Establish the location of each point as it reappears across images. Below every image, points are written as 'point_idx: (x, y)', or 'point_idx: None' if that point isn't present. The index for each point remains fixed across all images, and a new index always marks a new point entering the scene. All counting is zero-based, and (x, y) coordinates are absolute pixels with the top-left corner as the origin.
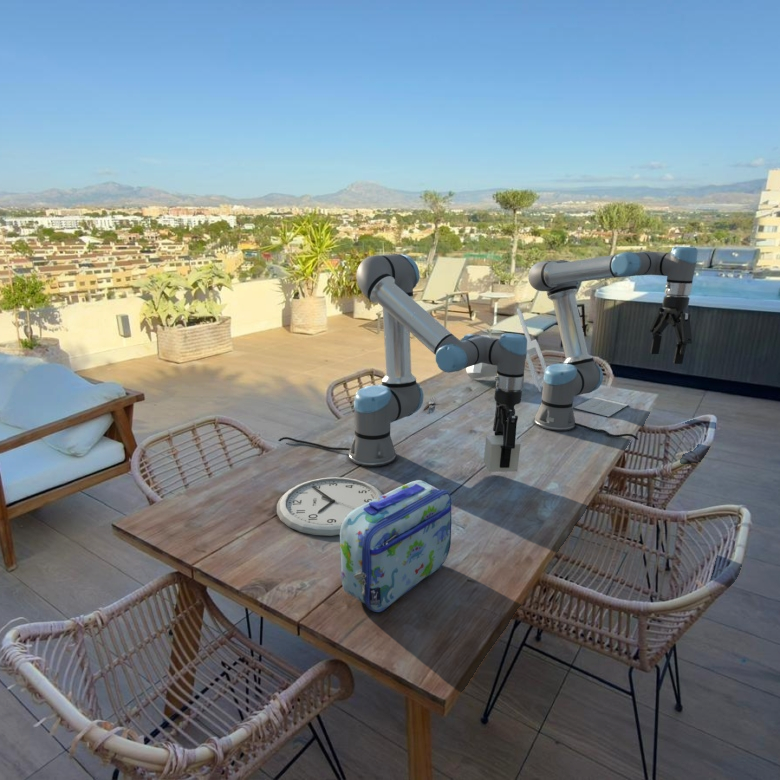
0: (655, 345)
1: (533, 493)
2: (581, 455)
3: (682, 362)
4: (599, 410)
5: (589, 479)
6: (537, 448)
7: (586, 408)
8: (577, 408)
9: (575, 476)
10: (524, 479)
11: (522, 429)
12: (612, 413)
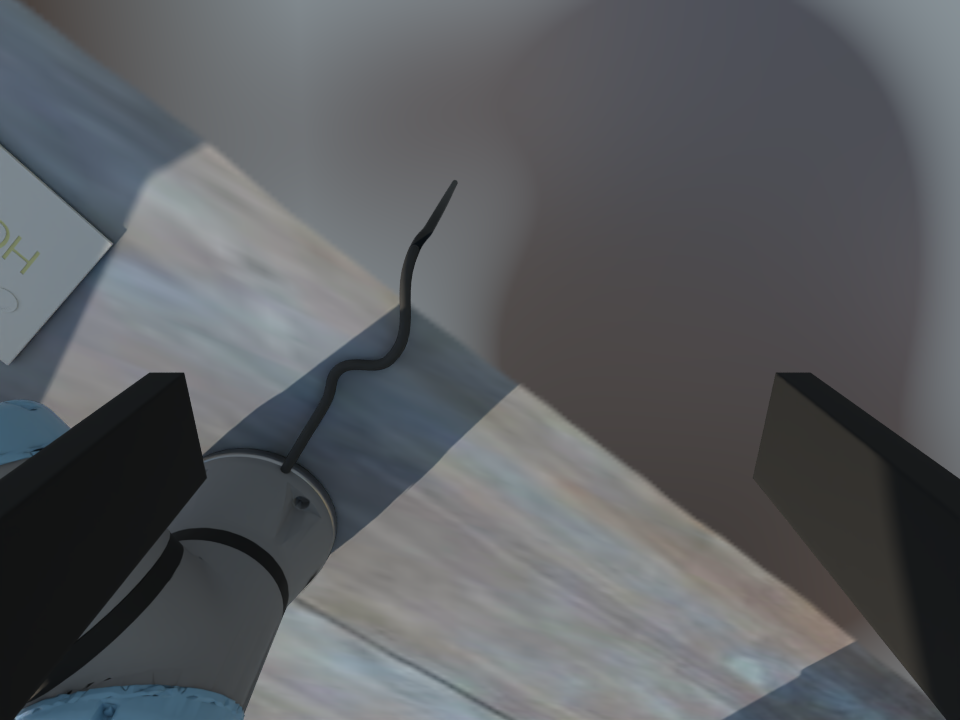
0: (117, 531)
1: (774, 716)
2: (564, 533)
3: (821, 381)
4: (20, 251)
5: (736, 575)
6: (495, 634)
7: (6, 309)
8: (17, 353)
9: (709, 602)
10: (697, 714)
11: (324, 630)
12: (56, 201)
